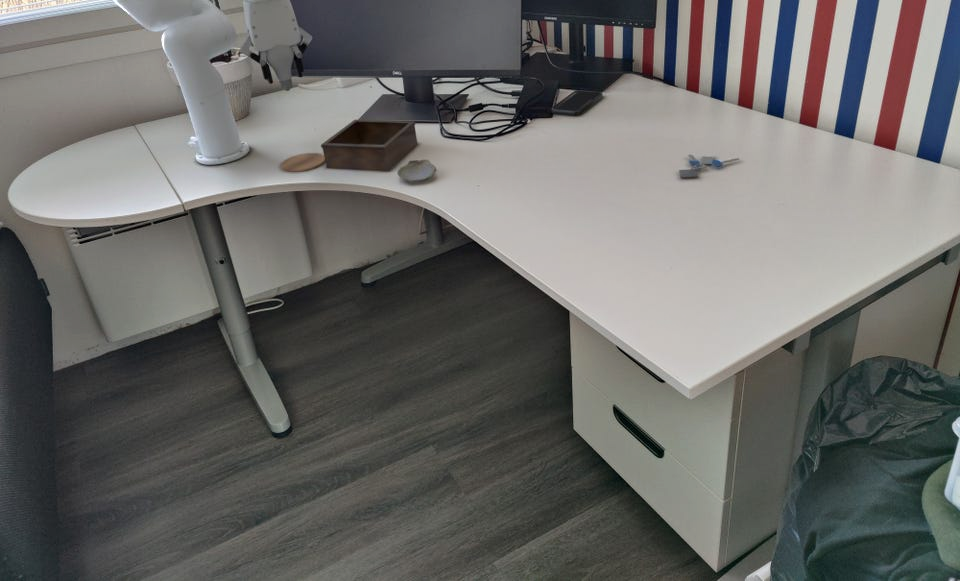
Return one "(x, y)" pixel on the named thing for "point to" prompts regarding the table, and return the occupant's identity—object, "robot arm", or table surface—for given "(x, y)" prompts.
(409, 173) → the seashell
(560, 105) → the phone
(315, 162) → the coaster
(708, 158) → the key chain
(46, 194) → the table surface
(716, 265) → the table surface
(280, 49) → the lightbulb
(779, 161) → the table surface
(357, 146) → the wooden frame
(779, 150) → the table surface
